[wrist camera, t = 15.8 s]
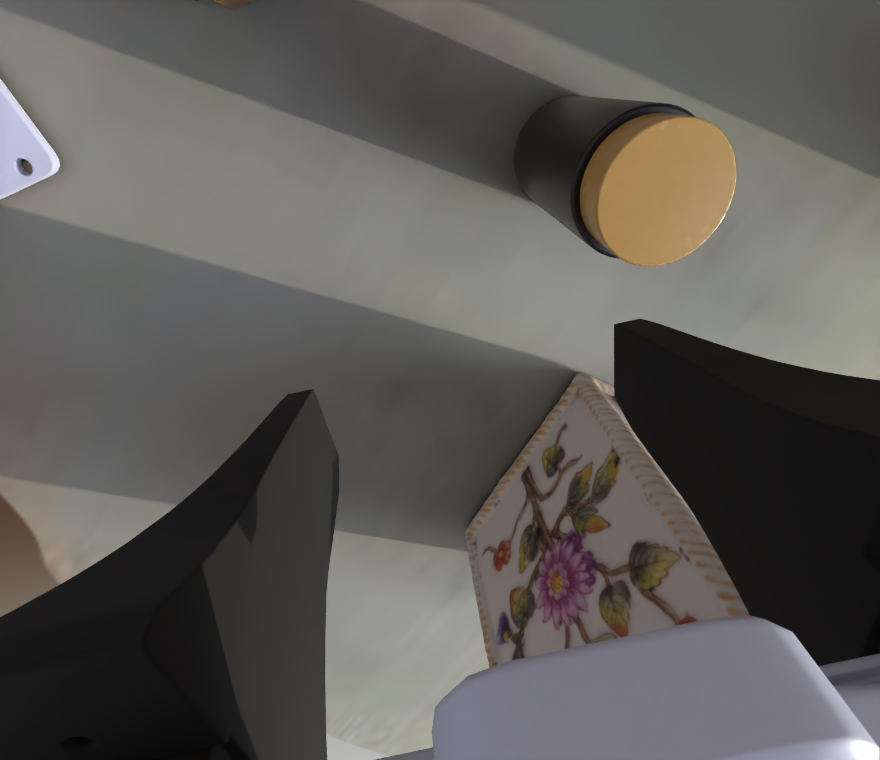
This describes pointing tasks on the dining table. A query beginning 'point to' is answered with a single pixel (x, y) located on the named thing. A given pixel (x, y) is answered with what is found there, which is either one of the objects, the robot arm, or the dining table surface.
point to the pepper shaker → (627, 175)
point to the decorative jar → (589, 539)
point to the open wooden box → (232, 3)
